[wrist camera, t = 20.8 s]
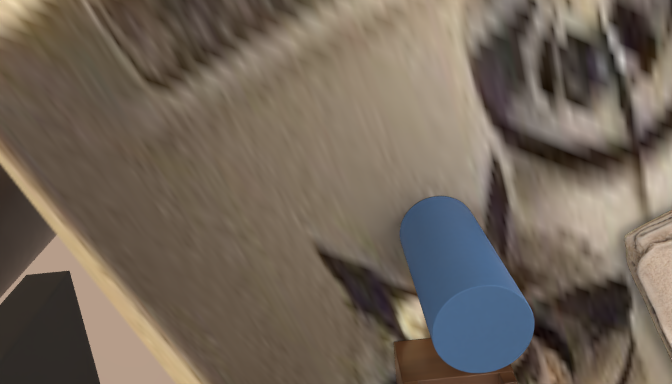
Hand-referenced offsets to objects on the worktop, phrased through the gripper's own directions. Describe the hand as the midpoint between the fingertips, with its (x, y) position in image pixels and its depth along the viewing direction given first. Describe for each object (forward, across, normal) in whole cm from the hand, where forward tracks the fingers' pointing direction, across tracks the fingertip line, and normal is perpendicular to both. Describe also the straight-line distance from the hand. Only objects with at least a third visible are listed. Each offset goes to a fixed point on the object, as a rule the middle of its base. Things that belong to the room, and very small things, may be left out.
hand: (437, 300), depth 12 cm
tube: (+25, +6, -14) cm, 29 cm away
